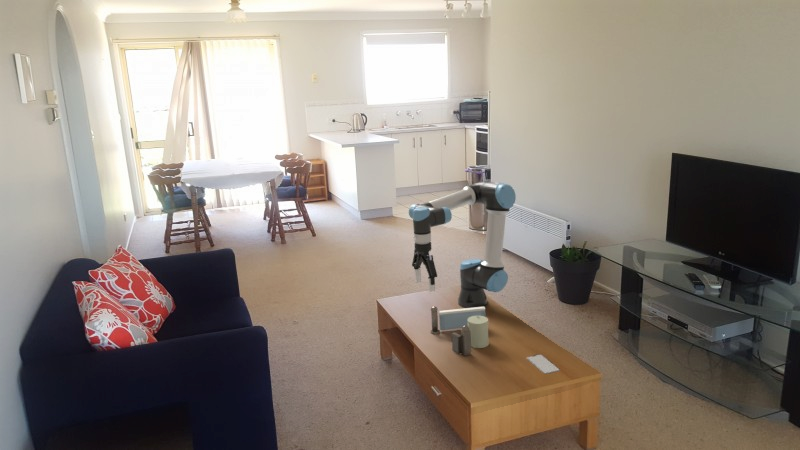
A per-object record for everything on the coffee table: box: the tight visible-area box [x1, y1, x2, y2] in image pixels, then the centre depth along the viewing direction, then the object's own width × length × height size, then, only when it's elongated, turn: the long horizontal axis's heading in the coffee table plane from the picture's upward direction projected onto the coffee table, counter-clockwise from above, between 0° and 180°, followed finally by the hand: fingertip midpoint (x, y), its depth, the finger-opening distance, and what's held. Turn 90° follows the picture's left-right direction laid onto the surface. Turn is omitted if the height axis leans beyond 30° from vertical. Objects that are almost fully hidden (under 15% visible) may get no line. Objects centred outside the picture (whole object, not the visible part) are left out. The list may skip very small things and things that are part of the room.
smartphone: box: [525, 353, 561, 375], centre depth 236 cm, size 7×1×15 cm
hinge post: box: [429, 306, 441, 335], centre depth 270 cm, size 4×4×13 cm
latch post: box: [451, 325, 472, 357], centre depth 249 cm, size 5×8×13 cm, turn 27°
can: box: [467, 316, 490, 349], centre depth 256 cm, size 9×9×12 cm
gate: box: [438, 306, 486, 331], centre depth 272 cm, size 22×2×9 cm, turn 97°
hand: (425, 286), depth 264 cm, fingers open, 13 cm apart
